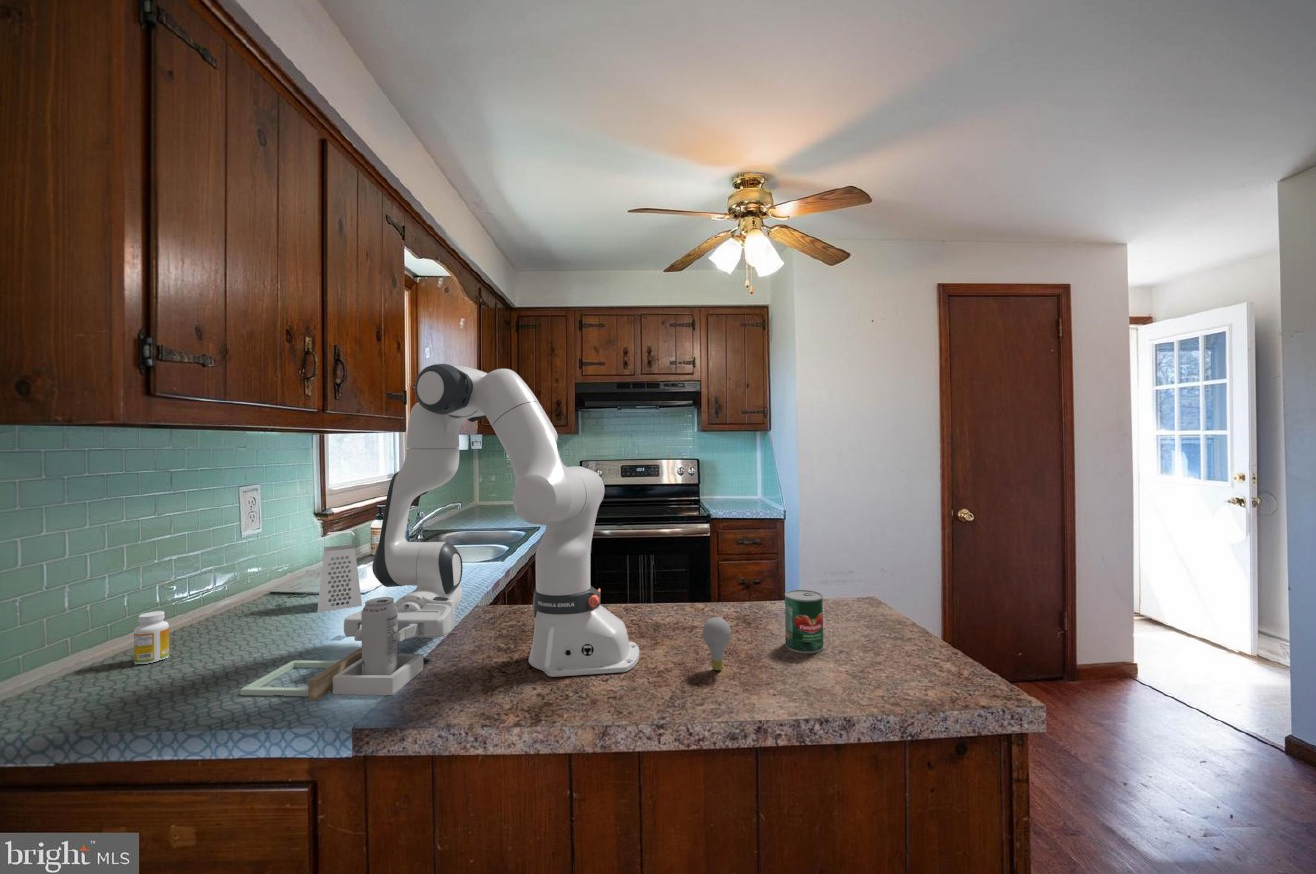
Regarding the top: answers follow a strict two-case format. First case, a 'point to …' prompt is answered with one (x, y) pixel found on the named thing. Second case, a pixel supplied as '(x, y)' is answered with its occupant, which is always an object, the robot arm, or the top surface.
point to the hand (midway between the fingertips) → (377, 637)
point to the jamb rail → (330, 676)
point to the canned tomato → (804, 621)
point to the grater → (339, 577)
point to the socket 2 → (377, 677)
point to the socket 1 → (270, 691)
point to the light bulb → (716, 639)
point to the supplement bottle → (151, 638)
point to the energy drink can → (379, 637)
